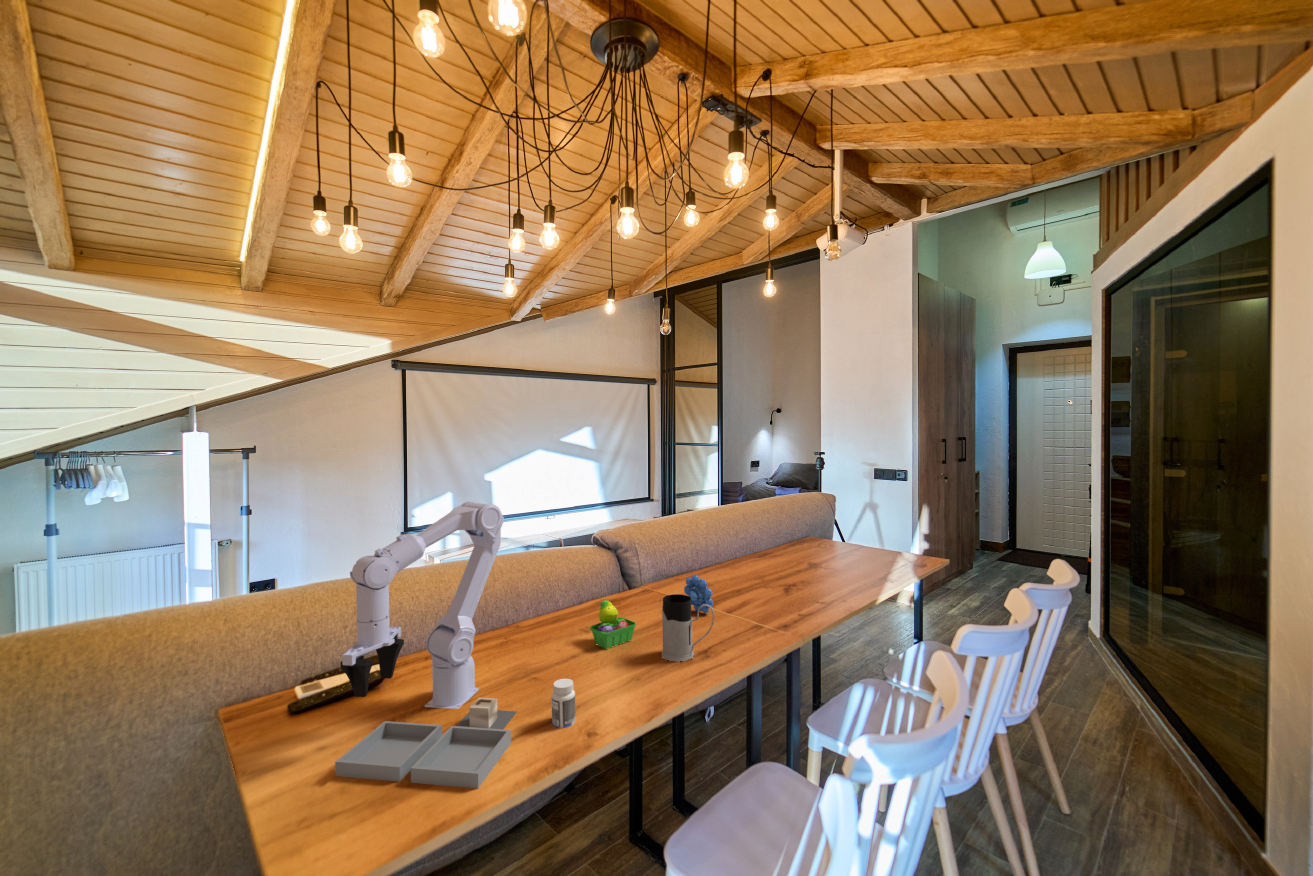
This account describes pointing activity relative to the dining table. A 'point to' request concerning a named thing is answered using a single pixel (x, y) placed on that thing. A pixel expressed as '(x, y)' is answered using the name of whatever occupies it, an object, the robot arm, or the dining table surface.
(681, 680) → the dining table surface
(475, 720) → the letter cube
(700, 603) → the grapes
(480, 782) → the tray
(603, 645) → the fruit basket
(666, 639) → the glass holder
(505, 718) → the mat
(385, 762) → the tray
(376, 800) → the dining table surface
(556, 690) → the pill bottle
